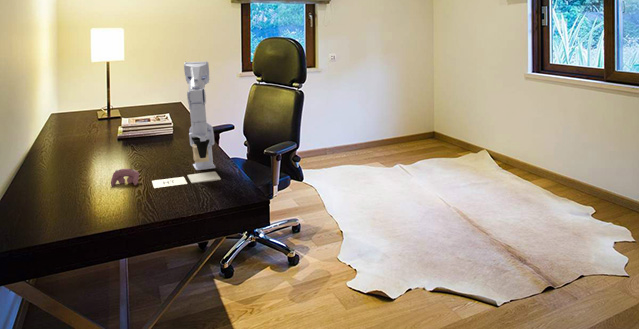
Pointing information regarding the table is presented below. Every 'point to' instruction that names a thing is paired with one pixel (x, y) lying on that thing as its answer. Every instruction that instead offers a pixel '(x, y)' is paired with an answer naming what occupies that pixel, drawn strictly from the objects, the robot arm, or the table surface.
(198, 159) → the maple block
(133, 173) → the video game controller
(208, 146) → the robot arm
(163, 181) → the cream card
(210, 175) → the grey mat
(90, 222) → the table surface
